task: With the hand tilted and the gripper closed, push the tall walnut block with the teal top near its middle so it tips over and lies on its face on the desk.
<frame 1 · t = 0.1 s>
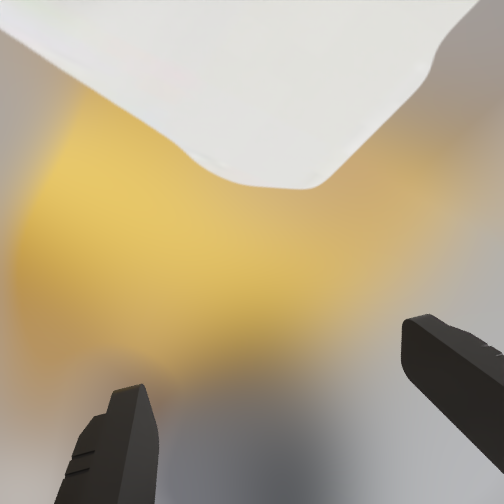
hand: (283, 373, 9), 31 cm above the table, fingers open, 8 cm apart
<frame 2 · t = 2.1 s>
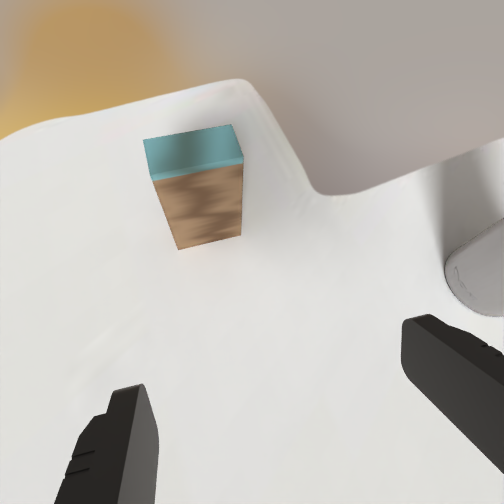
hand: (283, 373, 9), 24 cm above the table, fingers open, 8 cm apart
walnut block: (206, 229, 39), on the table
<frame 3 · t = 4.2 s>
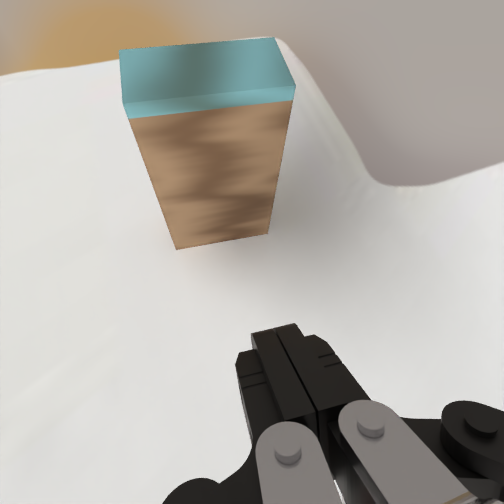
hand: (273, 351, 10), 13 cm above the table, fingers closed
walnut block: (218, 222, 27), on the table
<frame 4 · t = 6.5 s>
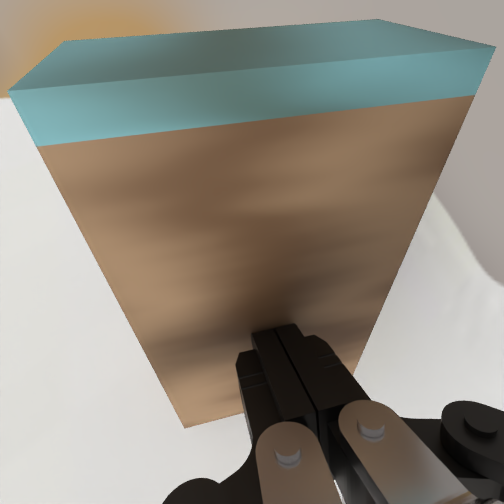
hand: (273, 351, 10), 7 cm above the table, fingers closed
walnut block: (259, 366, 16), point 1 cm above the table, tilted 20°
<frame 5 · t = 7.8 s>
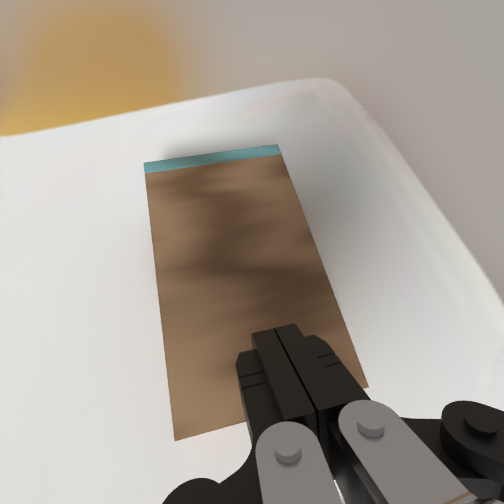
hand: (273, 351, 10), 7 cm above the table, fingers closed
walnut block: (271, 412, 14), point 2 cm above the table, tilted 90°
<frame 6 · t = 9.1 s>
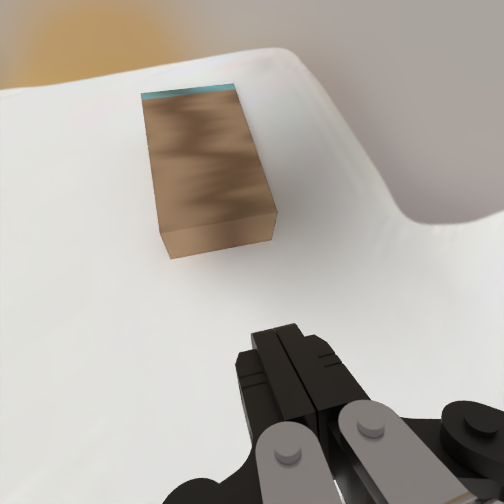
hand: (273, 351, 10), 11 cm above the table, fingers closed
walnut block: (221, 237, 22), point 2 cm above the table, tilted 90°
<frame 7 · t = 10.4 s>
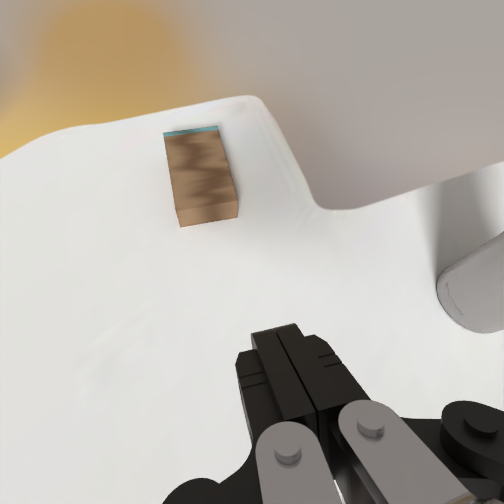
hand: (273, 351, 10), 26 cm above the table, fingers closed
walnut block: (208, 214, 41), point 2 cm above the table, tilted 90°
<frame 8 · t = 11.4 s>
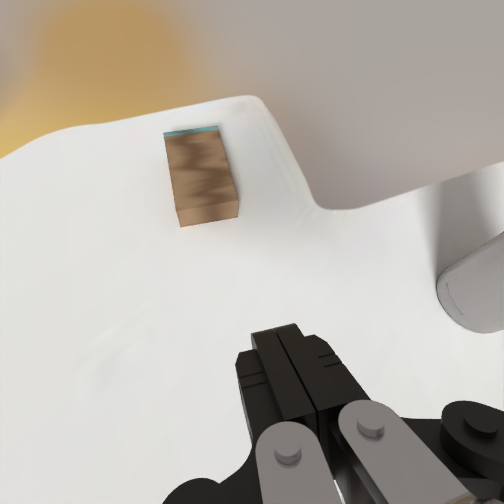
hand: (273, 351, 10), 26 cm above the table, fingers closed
walnut block: (208, 214, 41), point 2 cm above the table, tilted 90°
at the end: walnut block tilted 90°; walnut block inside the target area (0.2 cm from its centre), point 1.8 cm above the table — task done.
